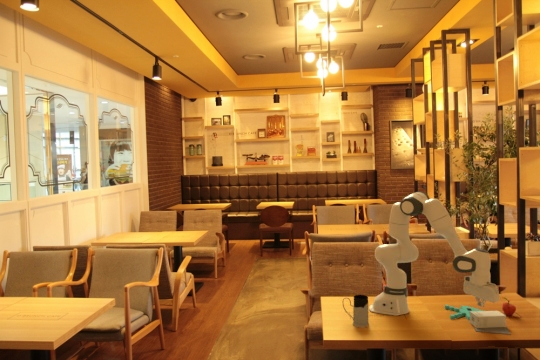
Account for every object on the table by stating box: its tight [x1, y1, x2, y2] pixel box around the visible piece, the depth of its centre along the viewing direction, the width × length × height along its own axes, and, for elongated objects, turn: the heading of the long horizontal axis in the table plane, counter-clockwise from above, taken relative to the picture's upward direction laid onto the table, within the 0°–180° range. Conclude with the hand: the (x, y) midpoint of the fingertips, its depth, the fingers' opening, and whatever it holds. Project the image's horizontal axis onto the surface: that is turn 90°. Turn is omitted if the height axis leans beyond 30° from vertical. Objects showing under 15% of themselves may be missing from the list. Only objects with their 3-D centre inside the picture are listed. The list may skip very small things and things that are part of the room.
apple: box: [501, 297, 517, 317], centre depth 263 cm, size 8×7×10 cm
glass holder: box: [342, 294, 370, 328], centre depth 252 cm, size 9×14×15 cm, turn 70°
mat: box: [473, 325, 512, 336], centre depth 244 cm, size 16×14×1 cm
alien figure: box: [444, 304, 485, 321], centre depth 266 cm, size 20×2×20 cm
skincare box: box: [469, 310, 507, 328], centre depth 247 cm, size 8×7×16 cm
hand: (480, 306), depth 245 cm, fingers closed
